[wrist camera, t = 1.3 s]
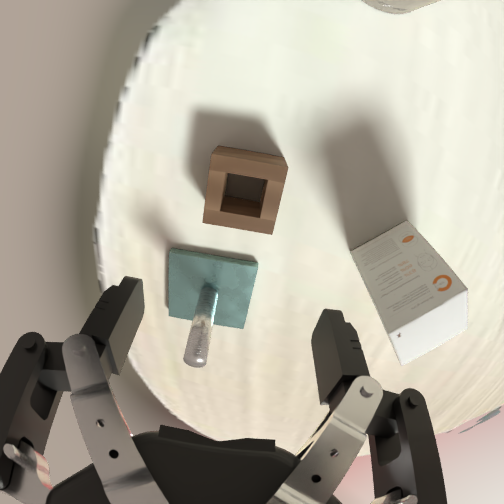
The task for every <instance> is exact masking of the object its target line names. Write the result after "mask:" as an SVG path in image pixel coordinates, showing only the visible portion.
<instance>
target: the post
mask: <svg viewBox="0 0 504 504" xmlns="http://www.w3.org/2000/svg"><path fill="white" fill-rule="evenodd" d="M257 270H258V263H257V262H251V261H245V260H239V259H233V258H227V257H221V256H215V255H210V254H204V253H198V252H192V251H186V250H180V249H175V248H171V250H170V252H169V316H171V317H176V318H181V319H187V320H192V325H191V329H190V333H189V337H188V341H187V346H186V350H185V354H184V358H183V359H184V362H185V363H186V364H188V365H189V366H192V367H203V366H205V365H206V361H207V355H208V350H209V344H210V338H211V332H212V326H213V324H215V325H221V326H227V327H234V328H240V329H243V328H244V324H245V320H246V316H247V312H248V307H249V303H250V299H251V295H252V291H253V287H254V282H255V278H256V274H257Z"/></svg>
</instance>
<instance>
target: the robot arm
mask: <svg viewBox="0 0 504 504" xmlns="http://www.w3.org/2000/svg"><path fill="white" fill-rule="evenodd" d="M362 1H363V2H365V3H366V4H368V5H370V6H372V7H374V8H376V9H378V10H381V11H384V12H386V13H392V14H404V13H409V12H411V11H414V10H416V9H419V8H421V7H424V6H427V5H430V4H432V3H435V2H438V1H441V0H362ZM143 314H144V294H143V282H142V279H138V278H133V277H128V276H125V277H124V278H123V280H122V281H121V283H120V285H119V286H115V285H112V286H111V287H110V288H108V289H107V290H106V291H104V293H103V294H102V296H101V298H100V299H99V302H98V303H97V304H96V306H95V308H94V309H93V311H92V313H91V314H90V316H89V318H88V319H87V321H86V323H85V324H84V326H83V328H82V330H81V331H80V333H79V334H75V335H72V336H70V337H69V338H67V339H66V340H65V341H64V342H45V340H44V338H43V337H42V336H41V335H40V334H39V333H36V332H29V333H26V334H24V335H23V336H21V337H20V338H19V340H18V341H17V343H16V345H15V347H14V349H13V350H12V352H11V354H10V356H9V358H8V360H7V362H6V364H5V365H4V367H3V369H2V372H1V373H0V492H2V493H4V494H7V495H9V496H12V497H14V498H15V499H17V500H19V501H21V502H22V503H24V504H342V503H341V502H340V501H339V500H338V499H337V498H336V497H335V496H334V495H333V492H334V491H335V490H336V488H337V486H338V485H339V484H340V482H341V480H342V479H343V477H344V476H345V474H346V473H347V471H348V469H349V467H350V466H351V465H352V463H353V461H354V459H355V458H356V456H357V454H358V453H359V451H360V449H361V447H362V445H363V444H364V442H365V440H366V436H367V435H366V434H368V437H369V445H370V453H371V461H372V471H373V482H374V494H375V500H373V501H372V502H371V503H370V504H447V498H446V491H445V485H444V479H443V473H442V468H441V462H440V457H439V453H438V448H437V444H436V439H435V435H434V431H433V427H432V423H431V420H430V416H429V412H428V409H427V405H426V402H425V399H424V397H423V395H422V394H421V393H420V392H419V391H417V390H415V389H412V388H408V389H405V390H403V391H402V392H401V393H400V394H396V393H392V392H389V391H385V390H383V389H382V387H381V385H380V383H379V382H378V381H377V380H375V379H374V378H372V377H370V374H369V371H368V367H367V364H366V360H365V357H364V354H363V350H361V348H362V347H361V344H360V342H359V338H358V334H357V331H356V330H355V329H354V327H353V326H352V325H351V324H350V323H347V322H345V320H344V317H343V313H342V311H340V310H332V309H324V310H323V312H322V314H321V316H320V318H319V320H318V323H317V325H316V327H315V329H314V331H313V334H312V340H311V344H312V351H313V358H314V364H315V371H316V378H317V384H318V392H319V399H320V405H329V408H330V410H329V412H328V413H327V414H326V416H325V417H324V419H323V420H322V421H321V423H320V424H319V426H318V427H317V428H316V430H315V431H314V432H313V434H312V435H311V436H310V438H309V439H308V440H307V442H306V443H305V444H304V445H303V446H302V447H301V448H300V450H299V451H298V452H297V453H296V454H295V455H293V454H292V453H290V452H288V451H287V450H285V449H282V448H279V447H276V446H275V440H270V439H253V438H244V439H236V440H228V441H214V440H212V439H209V438H206V437H203V436H201V435H198V434H196V433H194V432H191V431H189V430H184V429H179V428H174V427H169V426H164V425H160V430H159V431H150V432H145V433H141V434H138V435H135V436H132V433H131V432H130V429H129V427H128V425H127V423H126V421H125V419H124V417H123V415H122V412H121V410H120V408H119V405H118V403H117V401H116V398H115V396H114V394H113V391H112V388H111V386H110V383H109V378H110V376H111V373H113V374H117V375H120V373H121V370H122V367H123V365H124V362H125V359H126V357H127V354H128V352H129V349H130V347H131V344H132V342H133V339H134V337H135V335H136V332H137V330H138V327H139V325H140V323H141V320H142V318H143ZM63 391H72V394H71V396H70V397H71V402H72V406H73V409H74V412H75V415H76V418H77V421H78V424H79V427H80V430H81V433H82V436H83V438H84V441H85V444H86V446H87V449H88V451H89V454H90V456H91V459H92V461H93V463H92V464H90V465H89V466H87V467H85V468H84V469H82V470H80V471H79V472H77V473H76V474H74V475H72V476H71V477H69V478H67V479H66V480H64V481H62V482H60V483H59V484H57V485H56V486H54V487H53V486H52V485H51V482H50V478H49V473H50V470H49V464H48V462H47V460H46V459H45V457H44V456H43V454H44V450H45V446H46V442H47V439H48V436H49V433H50V429H51V426H52V423H53V420H54V417H55V414H56V411H57V408H58V405H59V402H60V399H61V397H62V394H63Z"/></svg>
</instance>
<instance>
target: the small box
mask: <svg viewBox="0 0 504 504" xmlns="http://www.w3.org/2000/svg"><path fill="white" fill-rule="evenodd" d="M350 253H351V255H352V257H353V259H354V262H355V264H356V266H357V268H358V270H359V272H360V274H361V277H362V279H363V281H364V283H365V286H366V288H367V290H368V292H369V294H370V297H371V299H372V301H373V303H374V305H375V307H376V310H377V312H378V314H379V316H380V319H381V321H382V323H383V325H384V328H385V330H386V332H387V335H388V337H389V339H390V341H391V344H392V346H393V348H394V351H395V353H396V355H397V358H398V360H399V362H400V364H401V366H403V365H405V364H407V363H409V362H410V361H412V360H414V359H416V358H418V357H420V356H422V355H424V354H426V353H427V352H429V351H431V350H433V349H435V348H436V347H438V346H440V345H441V344H443V343H445V342H447V341H448V340H450V339H452V338H453V337H455V336H456V335H458V334H460V333H461V332H463V331H464V330H466V329H468V289H467V287H466V286H465V285H464V284H463V283H462V281H461V280H460V279H459V278H458V276H457V275H456V274H455V273H454V272H453V270H452V269H451V268H450V267H449V266H448V264H447V263H446V262H445V261H444V260H443V258H442V257H441V256H440V255H439V254H438V253H437V252H436V251H435V249H434V248H433V247H432V246H431V245H430V244H429V243H428V241H427V240H426V239H425V238H424V237H423V236H422V235H421V234H420V233H419V232H418V231H417V230H416V229H415V228H414V227H413V226H412V225H411V224H410V223H409V222H408V221H407V220H406V221H405V222H403V223H401V224H399V225H398V226H396V227H394V228H392V229H390V230H389V231H387V232H385V233H383V234H381V235H380V236H378V237H376V238H374V239H373V240H371V241H369V242H367V243H365V244H363V245H362V246H360V247H358V248H356V249H354V250H352V251H351V252H350Z"/></svg>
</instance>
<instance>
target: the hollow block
mask: <svg viewBox="0 0 504 504" xmlns="http://www.w3.org/2000/svg"><path fill="white" fill-rule="evenodd" d="M287 171H288V166H287V163H286V161H285V158H284V157H279V156H274V155H269V154H264V153H258V152H253V151H247V150H242V149H235V148H229V147H223V146H217V148H216V149H215V150H214V151H213V153H212V154H211V160H210V167H209V175H208V182H207V190H206V198H205V206H204V214H203V223H206V224H212V225H218V226H224V227H230V228H236V229H242V230H248V231H254V232H259V233H265V234H271V235H272V233H273V229H274V225H275V221H276V217H277V213H278V209H279V205H280V200H281V196H282V192H283V188H284V184H285V179H286V175H287ZM228 173H232V174H238V175H244V176H249V177H255V178H260V179H265V180H264V185H263V190H262V194H261V199H260V202H257V201H252V200H246V199H240V198H235V197H229V196H225V191H226V184H227V178H228Z"/></svg>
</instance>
